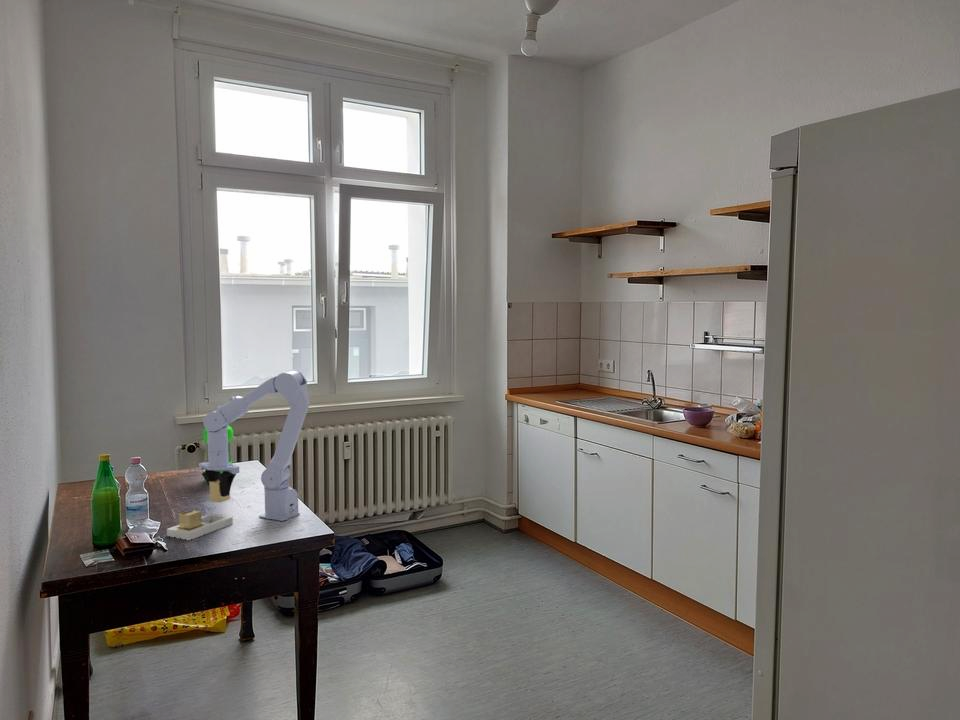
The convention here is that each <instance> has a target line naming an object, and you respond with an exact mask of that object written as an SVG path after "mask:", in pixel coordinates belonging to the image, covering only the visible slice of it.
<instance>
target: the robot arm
mask: <svg viewBox="0 0 960 720" xmlns="http://www.w3.org/2000/svg"><path fill="white" fill-rule="evenodd" d="M308 391H309V390H308V381H307V380H306V378H305V376H304V374H303V373H302V372H301V371H299V370H296V369H291V370H288V371H287V372H281V373H279V374H278V375H276V376H274V377H271V378H269V379H267V380H265V381H264V382H262V383H261V384H259V385H258V386H257V387H256V388H254V389H252V390H251V391H250V392H249V393H246V394H245V395H244V396H240V395H236V396H234V395H233V396H231V397H230V398H228V401H227V402H226V403H224V404H222V405H219V406H217V407H215V409H216V410H214V412H213V411H210V412H208V413H207V414H206V415H205V416H204V417H203V420H202V421H203V422H202V423H203V426H204V429H205V428H206V429H207V442H208V462H204V461H203V462H200V463H198V470H199V471H203V470H204V471H203V472H202V473H201V476H202V477H203V479H204V481H206V484H207V486H208V489H209V491H210V487H209V482H210V481H212V480H215V479H219V481H220V485H221V493H222V497H225V496H228V495H229V492H230V493H231V487H232V484H233V482H234V479H235V477H236V476H237V474H240V466H239V465H234V464H233V463H232V464H233V465H232V464H229V455H228V434H227V427H228V425H229V426H230V424H231V423H233V422H235V421H236V420H237V419H239V418H241V417H243V416H244V415H245V414H247V413H249V410H250V406H251V405H253V404H254V403H256V402H257V401H260V399H262V398H264V397H266V396H267V395H269V394H276V393H279V394H280V395H281V396H282V397H284V398H285V399H286V401H287V402H288V404H289V406H290V407H289V411H288V413H287V416H286V420H285V422H284V425H283V427H282V431H281V434H280V437H279V440H278V442H277V444H276V448H275V451H274V454H273V456H272V458H271V459H270V460H269V463H268V465H267V467H266V468H265V469H264V470H263V471H262V473H261V474H260V475H261V477H260V481H261V483H262V485H263V486H264V487H263V488H264V489H263V490H264V491H263V492H264V493H263V494H264V513H262V514H260V515H258V518H263V519H268V520H274V521H281V522H284V521H287V520H289V519H292V518H294V517H296V516H298V514H299V515H300V514H301V512H300V511H299V494H298V492H297V490H296V489H294V488H292V487H291V486H290V481H289V479H290V478H291V476H292V467H291V466H292V461H293V459H292V456H293V453H294V450H295V447H296V445H297V442H298V439H299V436H300V435H301V434H300V433H301V431H302V428H303V424H304V422H305V420H306V416H307V413H308V411H309V407H310V403H311V401H310V396H309V395H310V394H309V392H308ZM205 470H206V471H205ZM220 472H223V473H221V474H220ZM293 516H294V517H293ZM286 519H287V520H286Z"/></svg>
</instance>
